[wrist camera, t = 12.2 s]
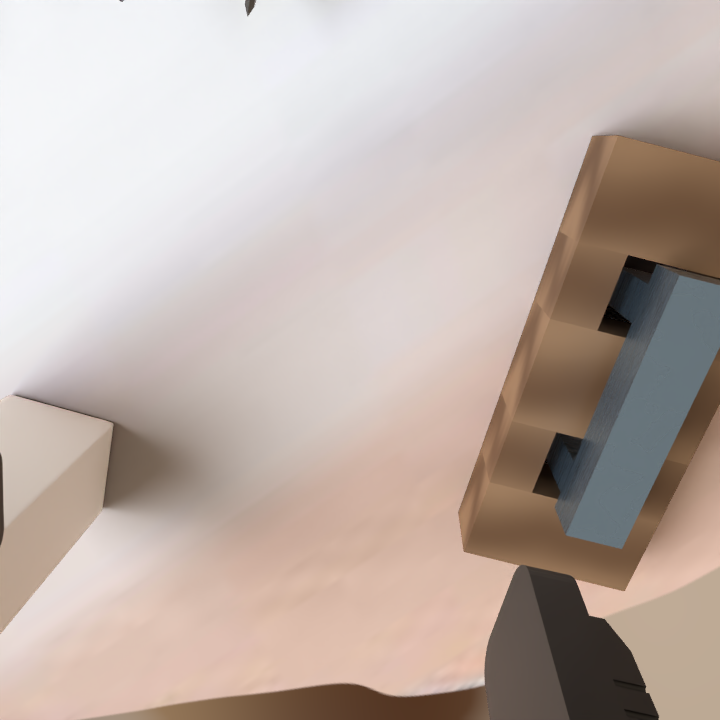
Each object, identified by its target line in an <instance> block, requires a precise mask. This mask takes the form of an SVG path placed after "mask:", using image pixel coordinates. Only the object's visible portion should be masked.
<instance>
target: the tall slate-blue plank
mask: <svg viewBox="0 0 720 720" xmlns="http://www.w3.org/2000/svg"><path fill="white" fill-rule="evenodd" d="M608 304H609V305H610V306H611V307H612V308H614V309H615V310H616V311H617V312H619V313H620V314H621V315H622V316H623V317H625V318H626V319H627V320H628V321H630V322H631V323H632V324H631V326H630V329H629V331H628V334H627V336H626V338H625V341H624V343H623V346H622V348H621V350H620V353H619V355H618V357H617V360H616V362H615V365H614V367H613V369H612V372H611V374H610V376H609V379H608V381H607V384H606V386H605V388H604V391H603V393H602V395H601V398H600V400H599V403H598V405H597V407H596V410H595V412H594V414H593V417H592V419H591V422H590V424H589V426H588V429H587V431H586V433H585V436H584V438H583V439H582V438H578V437H574V436H570V435H566V434H562V433H558V432H556V434H555V437H554V439H553V442H552V444H551V447H550V449H549V452H548V454H547V457H546V460H547V462H548V465H549V467H550V469H551V472H552V474H553V476H554V478H555V481H556V483H557V485H558V487H559V490H560V492H561V493H560V495H559V498H558V500H557V502H556V505H555V507H554V508H555V510H556V512H557V515H558V517H559V520H560V522H561V525H562V527H563V530H564V532H565V535H566V536H570V537H575V538H579V539H583V540H587V541H591V542H595V543H599V544H603V545H607V546H611V547H615V548H620V549H622V548H623V546H624V544H625V542H626V540H627V538H628V535H629V533H630V531H631V529H632V527H633V525H634V523H635V521H636V519H637V517H638V515H639V513H640V511H641V509H642V507H643V505H644V502H645V500H646V498H647V496H648V494H649V492H650V490H651V488H652V486H653V484H654V482H655V480H656V478H657V476H658V474H659V472H660V469H661V467H662V465H663V463H664V461H665V459H666V457H667V455H668V453H669V451H670V449H671V447H672V445H673V443H674V441H675V439H676V436H677V434H678V432H679V430H680V428H681V426H682V424H683V422H684V420H685V418H686V416H687V414H688V412H689V410H690V408H691V406H692V403H693V401H694V399H695V397H696V395H697V393H698V391H699V389H700V387H701V385H702V383H703V381H704V379H705V377H706V375H707V373H708V370H709V368H710V366H711V364H712V362H713V360H714V358H715V356H716V354H717V352H718V350H719V348H720V280H718V279H714V278H710V277H706V276H702V275H698V274H694V273H690V272H686V271H682V270H678V269H674V268H670V267H666V266H662V265H658V264H657V265H656V267H655V269H654V272H653V274H651V273H647V272H643V271H639V270H635V269H631V268H627V267H623V269H622V271H621V274H620V276H619V278H618V281H617V283H616V286H615V288H614V291H613V293H612V296H611V298H610V301H609V303H608Z"/></svg>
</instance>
